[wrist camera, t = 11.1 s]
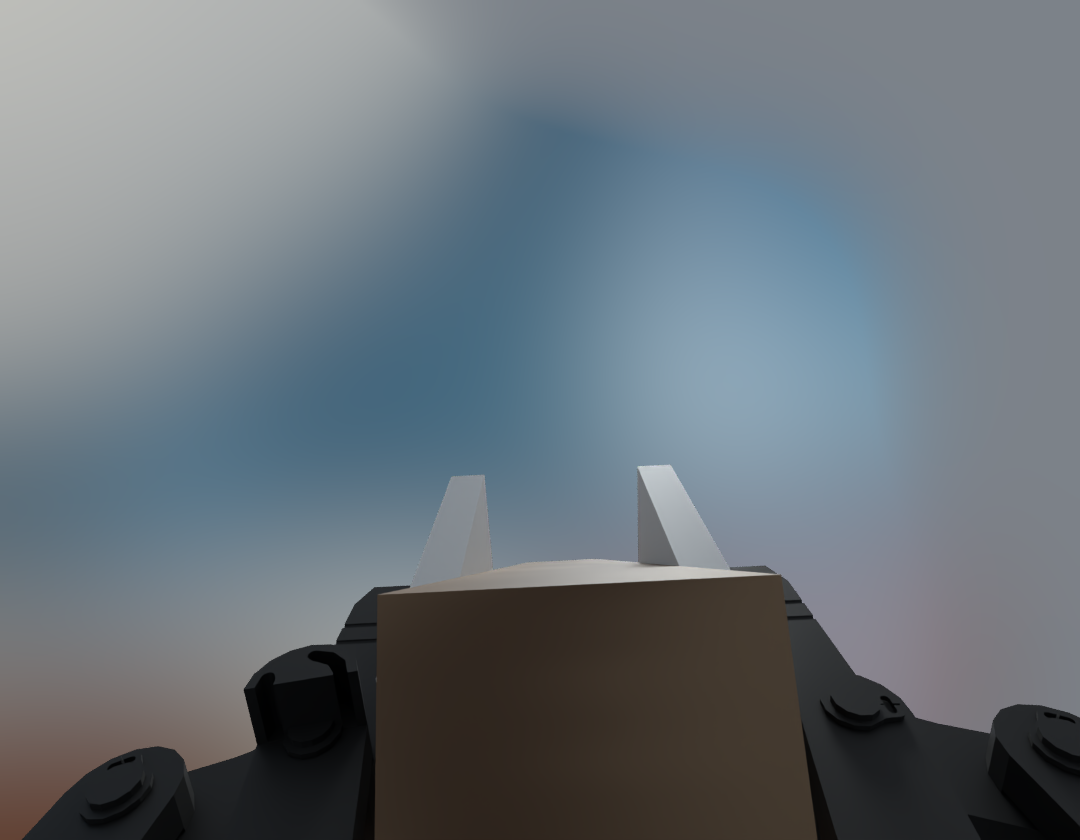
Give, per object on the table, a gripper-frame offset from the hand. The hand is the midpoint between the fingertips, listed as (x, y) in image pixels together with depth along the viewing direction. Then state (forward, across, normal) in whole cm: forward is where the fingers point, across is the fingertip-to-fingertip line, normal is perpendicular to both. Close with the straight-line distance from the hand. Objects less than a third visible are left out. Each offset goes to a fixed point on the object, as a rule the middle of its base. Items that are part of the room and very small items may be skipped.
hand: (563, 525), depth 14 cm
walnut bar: (+1, 0, -6) cm, 6 cm away
